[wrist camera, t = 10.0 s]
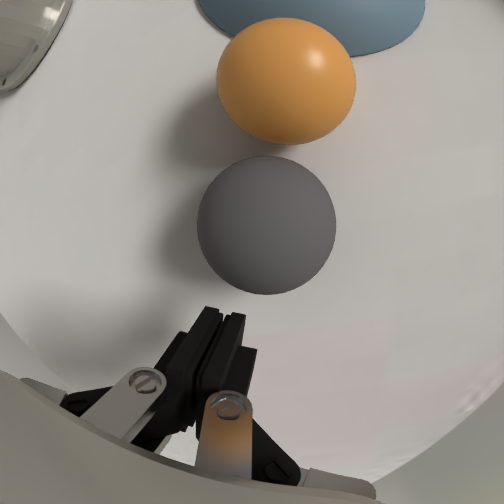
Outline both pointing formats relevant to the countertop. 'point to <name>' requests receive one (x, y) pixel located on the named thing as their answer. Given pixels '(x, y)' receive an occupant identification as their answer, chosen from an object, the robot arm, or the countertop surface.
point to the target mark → (328, 18)
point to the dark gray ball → (266, 225)
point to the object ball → (286, 81)
